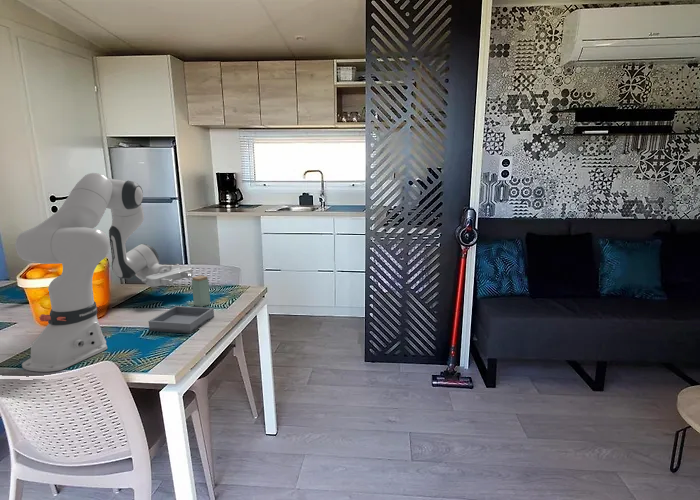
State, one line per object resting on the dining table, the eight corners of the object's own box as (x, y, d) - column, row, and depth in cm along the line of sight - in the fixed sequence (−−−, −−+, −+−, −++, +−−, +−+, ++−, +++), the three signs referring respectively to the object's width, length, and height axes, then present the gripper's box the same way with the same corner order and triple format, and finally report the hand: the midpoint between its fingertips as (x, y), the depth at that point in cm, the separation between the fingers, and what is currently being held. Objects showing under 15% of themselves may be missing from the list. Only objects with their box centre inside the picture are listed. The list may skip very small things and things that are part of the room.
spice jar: (201, 307, 165) (198, 279, 162) (194, 305, 167) (191, 277, 165) (210, 304, 168) (208, 276, 166) (203, 302, 171) (200, 275, 168)
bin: (190, 333, 139) (189, 324, 138) (149, 330, 141) (148, 321, 141) (214, 316, 154) (213, 308, 153) (176, 314, 157) (175, 305, 156)
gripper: (138, 273, 170) (158, 278, 163) (180, 262, 187) (200, 266, 180) (140, 287, 171) (159, 292, 164) (181, 275, 188) (201, 280, 181)
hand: (181, 279), depth 172 cm, fingers open, 8 cm apart
